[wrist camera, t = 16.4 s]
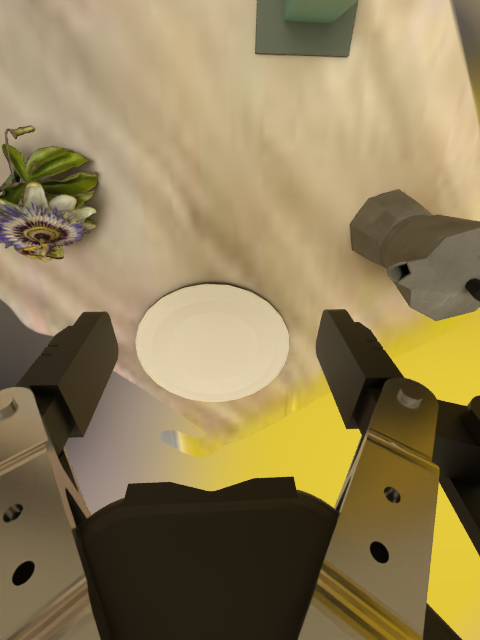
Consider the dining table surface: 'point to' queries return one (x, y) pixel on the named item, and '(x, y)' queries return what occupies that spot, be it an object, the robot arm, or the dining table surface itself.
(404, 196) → the coffeepot
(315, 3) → the block
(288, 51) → the mat
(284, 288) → the dining table surface
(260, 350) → the plate
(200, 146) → the dining table surface
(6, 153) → the passion flower
